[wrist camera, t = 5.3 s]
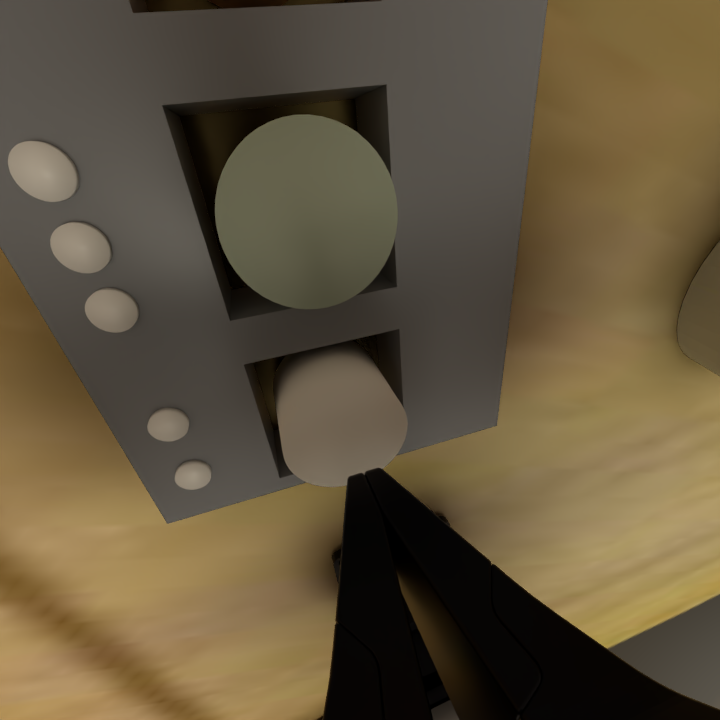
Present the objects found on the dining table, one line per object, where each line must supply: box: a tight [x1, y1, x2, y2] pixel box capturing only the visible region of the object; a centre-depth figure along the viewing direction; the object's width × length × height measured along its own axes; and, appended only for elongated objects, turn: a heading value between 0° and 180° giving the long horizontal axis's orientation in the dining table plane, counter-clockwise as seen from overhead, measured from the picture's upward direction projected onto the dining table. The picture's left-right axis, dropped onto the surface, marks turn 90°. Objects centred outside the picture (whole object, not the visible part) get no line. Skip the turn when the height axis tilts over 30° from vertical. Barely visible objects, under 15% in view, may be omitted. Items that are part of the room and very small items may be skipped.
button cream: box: [273, 340, 408, 487], centre depth 12 cm, size 4×4×3 cm
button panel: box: [0, 0, 548, 524], centre depth 9 cm, size 17×12×3 cm
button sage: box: [215, 114, 398, 309], centre depth 9 cm, size 4×4×3 cm
